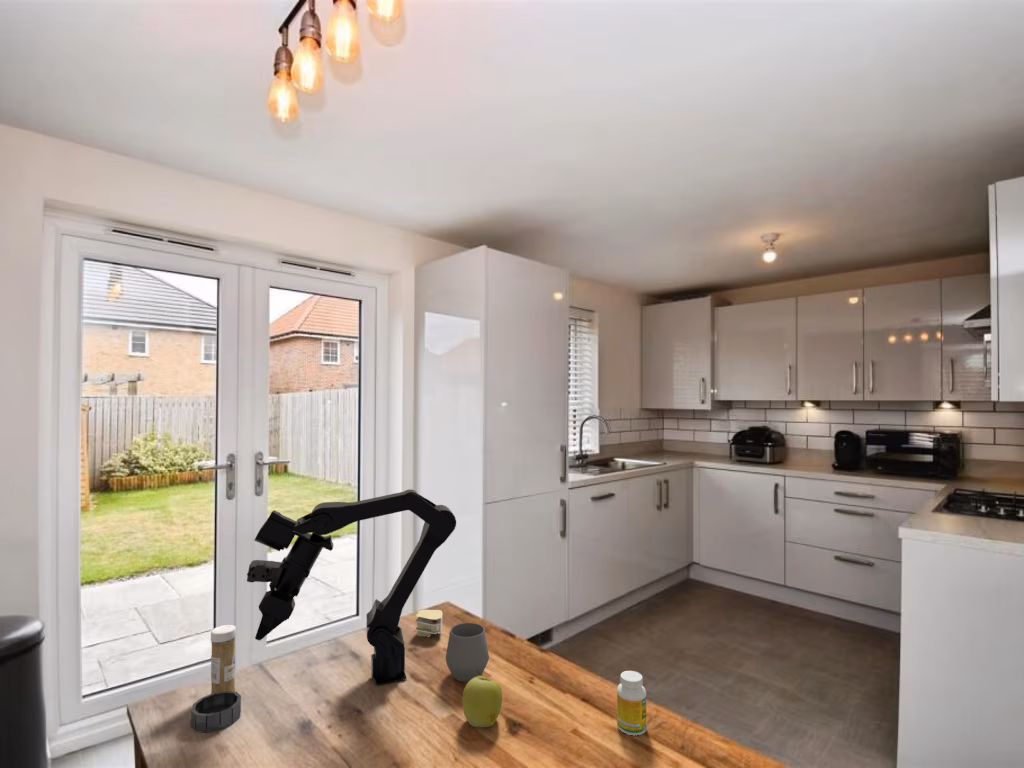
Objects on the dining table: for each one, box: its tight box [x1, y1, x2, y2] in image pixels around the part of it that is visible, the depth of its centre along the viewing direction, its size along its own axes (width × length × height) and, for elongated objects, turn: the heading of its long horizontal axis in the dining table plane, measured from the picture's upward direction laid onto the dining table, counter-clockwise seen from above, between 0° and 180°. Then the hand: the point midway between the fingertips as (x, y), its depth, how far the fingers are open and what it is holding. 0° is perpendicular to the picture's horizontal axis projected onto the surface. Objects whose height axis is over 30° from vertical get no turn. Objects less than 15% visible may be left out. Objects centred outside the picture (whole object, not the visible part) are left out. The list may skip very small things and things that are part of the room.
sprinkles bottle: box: [210, 624, 237, 694], centre depth 112 cm, size 5×5×14 cm
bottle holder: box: [190, 691, 242, 734], centre depth 103 cm, size 8×8×3 cm
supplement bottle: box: [616, 670, 647, 737], centre depth 100 cm, size 5×5×10 cm
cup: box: [445, 622, 490, 683], centre depth 119 cm, size 10×9×10 cm
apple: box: [461, 671, 503, 728], centre depth 103 cm, size 8×8×10 cm
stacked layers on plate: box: [415, 609, 443, 637], centre depth 139 cm, size 10×9×6 cm
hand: (261, 629), depth 112 cm, fingers open, 9 cm apart
